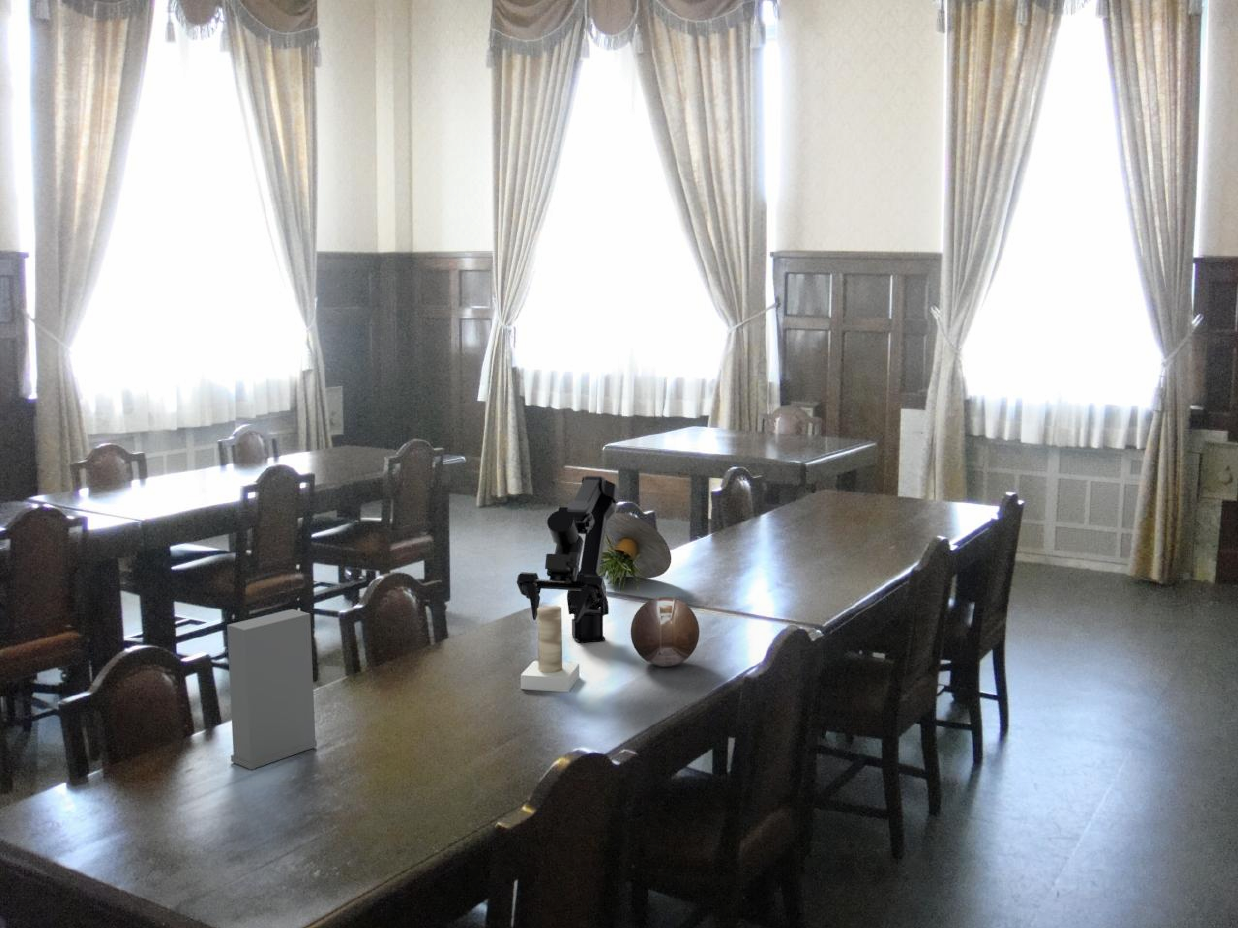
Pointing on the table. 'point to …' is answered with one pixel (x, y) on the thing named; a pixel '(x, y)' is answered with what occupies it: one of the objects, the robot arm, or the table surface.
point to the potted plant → (633, 549)
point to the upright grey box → (271, 687)
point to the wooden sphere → (665, 631)
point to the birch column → (549, 639)
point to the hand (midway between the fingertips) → (554, 620)
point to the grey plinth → (550, 678)
